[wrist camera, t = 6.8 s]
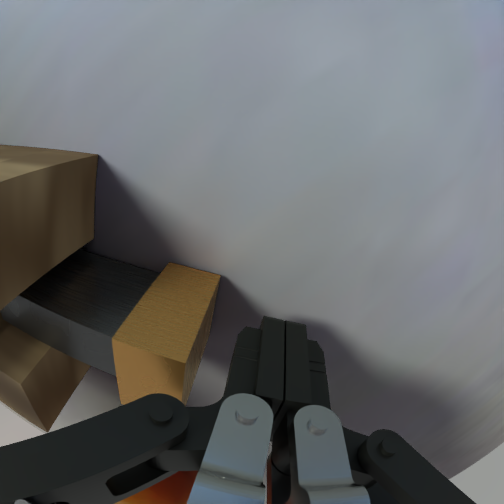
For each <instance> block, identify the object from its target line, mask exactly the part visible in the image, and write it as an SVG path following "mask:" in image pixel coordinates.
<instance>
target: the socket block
mask: <svg viewBox="0 0 504 504" xmlns="http://www.w3.org/2000/svg"><path fill="white" fill-rule="evenodd" d="M97 162H98V155H97V154H90V153H82V152H74V151H65V150H56V149H46V148H35V147H24V146H10V145H0V310H2V309H3V308H4V307H5V306H6V305H7V304H9V303H10V302H11V301H12V300H13V299H14V298H16V297H17V296H18V295H19V294H20V293H22V292H23V291H24V290H25V289H27V288H28V287H29V286H30V285H32V284H33V283H34V282H35V281H37V280H38V279H39V278H40V277H42V276H43V275H44V274H46V273H47V272H48V271H50V270H51V269H52V268H53V267H55V266H56V265H57V264H59V263H60V262H62V261H63V260H64V259H66V258H67V257H68V256H70V255H71V254H72V253H74V252H75V251H77V250H78V249H79V248H81V247H82V246H84V245H85V244H87V243H88V242H90V241H91V240H92V239H94V205H95V186H96V173H97ZM90 367H91V366H90V365H88V364H86V363H83V362H81V361H79V360H77V359H75V358H73V357H71V356H69V355H66V354H64V353H62V352H60V351H58V350H56V349H54V348H52V347H51V346H49V345H47V344H45V343H43V342H41V341H39V340H37V339H36V338H34V337H32V336H30V335H28V334H27V333H25V332H23V331H22V330H20V329H18V328H17V327H15V326H13V325H12V324H10V323H8V322H7V321H5V320H4V319H3V318H2V315H1V311H0V400H1V401H2V402H3V403H5V404H6V405H7V406H9V407H10V408H11V409H13V410H14V411H15V412H17V413H18V414H20V415H21V416H23V417H24V418H26V419H27V420H29V421H30V422H32V423H33V424H35V425H36V426H38V427H39V428H41V429H43V430H44V431H46V432H48V431H49V430H50V428H51V426H52V425H53V423H54V422H55V420H56V418H57V417H58V415H59V414H60V412H61V410H62V409H63V407H64V406H65V404H66V403H67V401H68V399H69V398H70V396H71V395H72V393H73V392H74V390H75V389H76V387H77V386H78V384H79V383H80V381H81V380H82V378H83V377H84V375H85V374H86V372H87V371H88V370H89V368H90Z"/></svg>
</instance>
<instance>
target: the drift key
mask: <svg viewBox="0 0 504 504" xmlns="http://www.w3.org/2000/svg"><path fill="white" fill-rule="evenodd" d="M220 276H221V275H217V274H213V273H209V272H206V271H202V270H198V269H194V268H190V267H186V266H182V265H179V264H175V263H171V262H169V263H168V265H167V266H166V267H165V268H164V270H163V271H162V272H161V273H157V272H153V271H150V270H146V269H143V268H139V267H136V266H132V265H129V264H125V263H122V262H119V261H115V260H112V259H109V258H105V257H102V256H99V255H96V254H92V253H89V252H86V251H83V250H80V249H78V250H77V251H75V252H74V253H72V254H71V255H70V256H68V257H67V258H66V259H64V260H63V261H62V262H60V263H59V264H57V265H56V266H55V267H53V268H52V269H51V270H50V271H48V272H47V273H46V274H44V275H43V276H42V277H40V278H39V279H38V280H37V281H35V282H34V283H33V284H32V285H30V286H29V287H28V288H27V289H25V290H24V291H23V292H22V293H20V294H19V295H18V296H17V297H16V298H14V299H13V300H12V301H11V302H10V303H9V304H7V305H6V306H5V307H4V308H3V309H2V310H0V311H1V315H2V318H3V319H4V320H5V321H7V322H8V323H10V324H12V325H13V326H15V327H17V328H18V329H20V330H22V331H23V332H25V333H27V334H28V335H30V336H32V337H34V338H36V339H37V340H39V341H41V342H43V343H45V344H47V345H49V346H51V347H52V348H54V349H56V350H58V351H60V352H62V353H64V354H66V355H69V356H71V357H73V358H75V359H77V360H79V361H81V362H83V363H86V364H88V365H90V366H92V367H95V368H97V369H99V370H102V371H104V372H107V373H109V374H112V375H114V376H116V377H117V383H118V389H119V395H120V401H121V404H123V405H125V404H127V403H130V402H132V401H135V400H137V399H139V398H142V397H144V396H146V395H149V394H154V393H162V394H168V395H171V396H173V397H175V398H177V399H178V400H180V401H181V402H182V403H183V404H184V405H185V406H186V403H187V400H188V397H189V394H190V391H191V388H192V385H193V382H194V379H195V376H196V373H197V370H198V367H199V364H200V361H201V358H202V355H203V352H204V349H205V346H206V343H207V340H208V337H209V333H210V328H211V323H212V317H213V312H214V307H215V302H216V296H217V291H218V286H219V281H220Z"/></svg>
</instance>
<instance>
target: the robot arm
mask: <svg viewBox="0 0 504 504" xmlns="http://www.w3.org/2000/svg"><path fill="white" fill-rule="evenodd" d="M324 364H325V360H324V353H323V351H322V349H321V348H320V346H319V344H318V343H317V341H313V340H308V339H307V332H306V325H304V324H299V323H295V322H290V321H284V320H280V319H276V318H271V317H267V316H264V317H263V319H262V322H261V325H260V329H255V328H251V327H247V326H246V327H245V328H244V329H243V330H242V331H241V332H240V333H239V334H238V338H237V341H236V345H235V349H234V353H233V357H232V360H231V364H230V369H229V373H228V378H227V382H226V387H225V391H224V396H223V397H222V399H221V400H219V401H218V402H217V403H215V404H213V405H210V406H205V407H185V405H184V404H183V403H182V402H181V401H180V400H178V399H177V398H175V397H173V396H171V395H168V394H162V393H154V394H149V395H146V396H144V397H142V398H139V399H137V400H135V401H132V402H130V403H127V404H125V405H123V406H120V407H118V408H115V409H113V410H110V411H108V412H105V413H103V414H100V415H97V416H95V417H92V418H90V419H87V420H84V421H81V422H79V423H76V424H73V425H70V426H67V427H65V428H62V429H59V430H56V431H53V432H50V433H47V434H43V435H40V436H37V437H34V438H31V439H27V440H24V441H21V442H17V443H13V444H10V445H6V446H2V447H0V504H114V503H117V502H119V501H121V500H123V499H126V498H128V497H130V496H132V495H134V494H136V493H138V492H140V491H142V490H144V489H146V488H148V487H150V486H152V485H154V484H156V483H158V482H160V481H162V480H164V479H166V478H167V477H169V476H171V475H173V474H175V473H176V472H178V471H198V470H199V471H198V473H197V476H196V479H195V482H194V484H193V487H192V490H191V493H190V496H189V499H188V502H187V504H264V500H265V485H264V484H263V476H264V470H265V465H266V459H267V454H268V448H269V442H270V441H271V442H272V452H271V453H270V455H269V456H268V459H267V504H476V503H475V502H474V501H472V500H471V499H470V498H469V497H468V496H467V495H465V494H464V493H463V492H462V491H461V490H459V489H458V488H457V487H456V486H455V485H454V484H453V483H452V482H450V481H449V480H448V479H447V478H446V477H445V476H444V475H442V474H441V473H440V472H439V471H438V470H437V469H436V468H435V467H433V466H432V465H431V464H430V463H429V462H428V461H427V460H426V459H425V458H423V457H422V456H421V455H420V454H419V453H418V452H417V451H416V450H415V449H414V448H412V447H411V446H410V445H409V444H408V443H407V442H406V441H405V440H404V439H403V438H402V437H401V436H399V435H398V434H397V433H395V432H393V431H390V430H385V429H382V430H377V431H375V432H373V433H372V434H371V435H370V436H366V435H363V434H360V433H357V432H354V431H351V430H349V429H347V428H345V427H343V426H342V425H341V421H340V420H339V418H338V416H337V415H336V414H335V413H334V412H333V411H331V408H330V400H329V392H328V383H327V375H326V368H325V365H324Z"/></svg>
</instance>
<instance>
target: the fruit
mask: <svg viewBox="0 0 504 504" xmlns="http://www.w3.org/2000/svg"><path fill="white" fill-rule="evenodd" d="M198 471H199V470H198ZM198 471H178V472H176V473H175V474H173V475H171V476H169V477H167V478H166V479H164V480H162V481H160V482H158V483H156V484H154V485H152V486H150V487H148V488H146V489H144V490H142V491H140V492H138V493H136V494H134V495H132V496H130V497H128V498H126V499H123V500H121V501H119V502H117V503H114V504H187V502H188V499H189V496H190V493H191V490H192V487H193V484H194V482H195V479H196V476H197V473H198Z"/></svg>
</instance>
